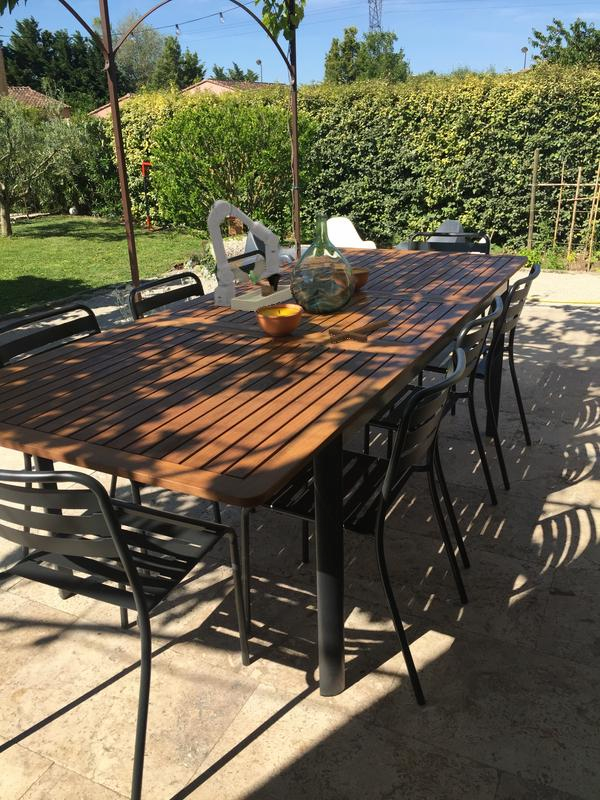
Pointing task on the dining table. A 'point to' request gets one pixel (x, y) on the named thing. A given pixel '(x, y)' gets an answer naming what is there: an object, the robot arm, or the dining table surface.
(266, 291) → the walnut block
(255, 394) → the dining table surface
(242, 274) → the decorative bird
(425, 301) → the dining table surface
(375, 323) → the cross
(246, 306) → the trap box
